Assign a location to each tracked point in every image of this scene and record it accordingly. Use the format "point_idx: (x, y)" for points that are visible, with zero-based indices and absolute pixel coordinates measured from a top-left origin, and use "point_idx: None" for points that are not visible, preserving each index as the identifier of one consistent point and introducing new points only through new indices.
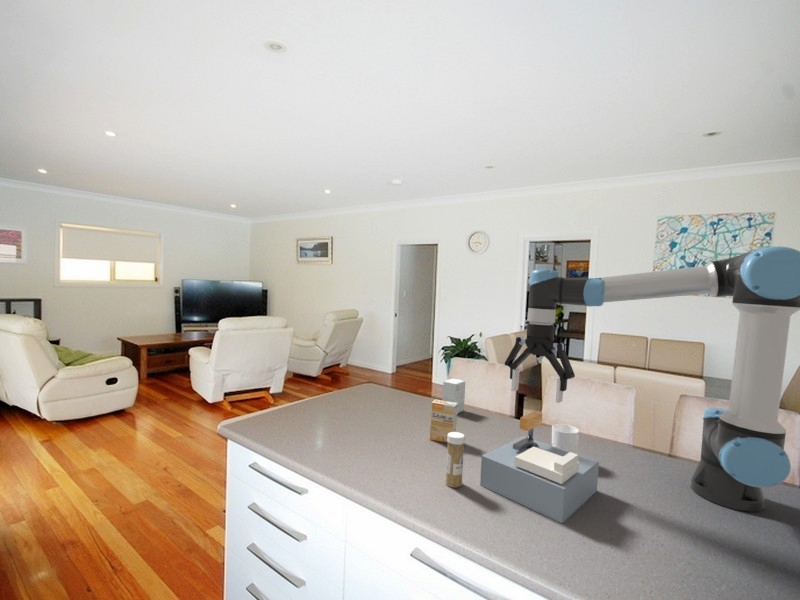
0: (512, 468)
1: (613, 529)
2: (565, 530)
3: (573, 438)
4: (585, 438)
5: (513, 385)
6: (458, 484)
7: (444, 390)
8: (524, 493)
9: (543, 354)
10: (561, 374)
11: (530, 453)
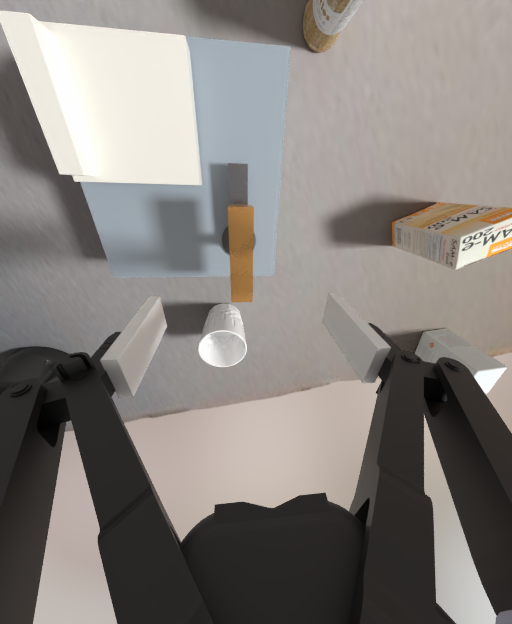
0: (188, 37)
1: (33, 143)
2: None
3: (201, 335)
4: (238, 394)
5: (340, 304)
6: (307, 8)
7: (483, 354)
8: None
9: (198, 539)
10: (73, 389)
11: (175, 120)
